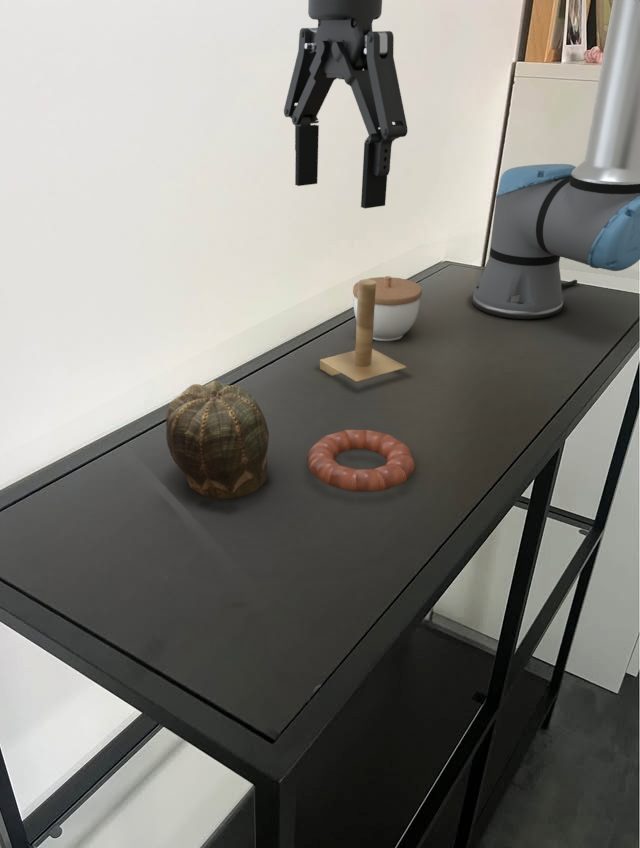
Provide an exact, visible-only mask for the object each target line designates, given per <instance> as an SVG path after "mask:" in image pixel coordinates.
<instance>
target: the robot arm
mask: <svg viewBox="0 0 640 848" xmlns="http://www.w3.org/2000/svg"><path fill="white" fill-rule="evenodd" d="M307 5H308V9H307V13H308V16H309V18H310V19H312V20H317V27H301V28H300V29H299V34H298V37H299V38H298V49H297V55H296V58H295V64H294V66H293V72H292V75H291V78H290V84H289V87H288V92H287V95H286V100H285V105H284V108H283V114H284V117H285V118H290V119H291V123H292V124H293V126H294V151H295V163H294V165H295V166H294V167H295V172H294V174H295V175H294V176H295V177H294V178H295V179H294V182H295V183H294V185H295V186H298V187H301V186H311V185H317V184H318V175H319V174H318V171H319V170H318V169H319V133H320V132H319V130H320V125H319V122H320V121H319V118H318V114H319V113H320V110H321V108H322V106H323V104H324V102H325V100H326V98H327V96H328V93H329V92H330V89H331V88H332V86H333V84H334V81H335V80H337V79H338V80H344V82H345V84H346V85H348V86H349V87H350V89H351V91H352V94H353V96H354V99H355V102H356V104H357V107H358V110H359V112H360V116H361V118H362V120H363V123H364V126H365V129H366V131H367V134H368V136H367V138H366V139H365V140H364V144H363V161H362V162H363V163H362V177H361V179H362V180H361V200H360V208H363V209H372V208H379V207H385V206H386V201H387V200H386V199H387V185H388V184H387V183H388V175H389V173H390V170H391V159H392V158H391V157H392V146H393V142H394V141H395V140H397V139H400V138H404V137H406V136H407V135H408V131H409V130H408V124H407V120H406V113H405V109H404V103H403V100H402V94H401V89H400V83H399V77H398V73H397V67H396V63H395V57H394V42H395V41H394V39H395V38H394V32H393V31H391V30H382V31H381V30H379V31H378V30H377V31H373V22H374V20H378V19H379V18H381V16H382V10H383V9H382V8H383V0H308V4H307ZM393 123H394V124H393ZM492 221H493V222H492V231H491V238H490V248H489V255H488V258H487V262H486V264H485V265H484V268H483V270H482V272H481V275H480V276H479V280H478V281H477V283H476V285H475V287H474V290H473V293H472V304H473V305H474V306H475V307H476V308H477V309H478V310H479V311H482V312H484V313H486V314H490V315H493V316H497V317H502V318H505V319H506V318H507V319H513V320H538V319H539V320H540V319H545V318H550V317H553V316H555V315H558V314H559V313H560V312H562V310H563V305H564V292H563V290H562V288H568V287H571V286H573V285H577V284H578V280H577V279H573V280H571V281H567V282H563V283H562V278H561V270H560V261H561V260H560V259H561V258H563V259H568V260H570V261H573V262H578V263H581V264H583V265H585V266H589V267H590V268H593V269H602V270H607V271H611V272H620V271H624V270H626V269H629V268H631V267H632V266H633V265H635V264H637V263H638V262H639V261H640V0H612V4H611V10H610V16H609V21H608V26H607V32H606V38H605V43H604V49H603V54H602V59H601V65H600V71H599V77H598V82H597V87H596V93H595V97H594V104H593V110H592V115H591V121H590V126H589V132H588V138H587V144H586V148H585V154H584V159H583V161H582V162H581V163H579V164H578V165H577V166H576V165H573V164H569V163H568V164H567V163H545V164H543V163H542V164H531V165H530V164H529V165H521V166H515V167H510V168H508V169H507V170H505V171H504V172H503V173H502V174H501V176H500V178H499V184H498V187H497V193H496V196H495V206H494V214H493V220H492Z"/></svg>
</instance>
